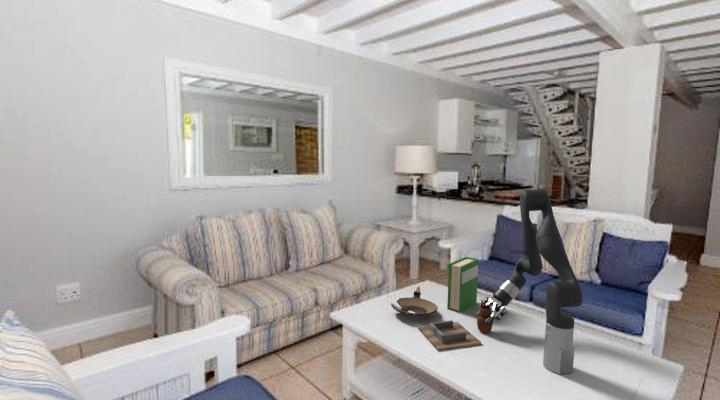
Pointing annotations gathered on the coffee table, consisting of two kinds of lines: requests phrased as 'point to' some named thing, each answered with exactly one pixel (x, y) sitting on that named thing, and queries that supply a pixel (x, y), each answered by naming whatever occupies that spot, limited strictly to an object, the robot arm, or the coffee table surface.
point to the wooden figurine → (484, 318)
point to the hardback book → (462, 284)
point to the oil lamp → (415, 305)
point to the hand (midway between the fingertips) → (481, 320)
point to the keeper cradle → (448, 335)
